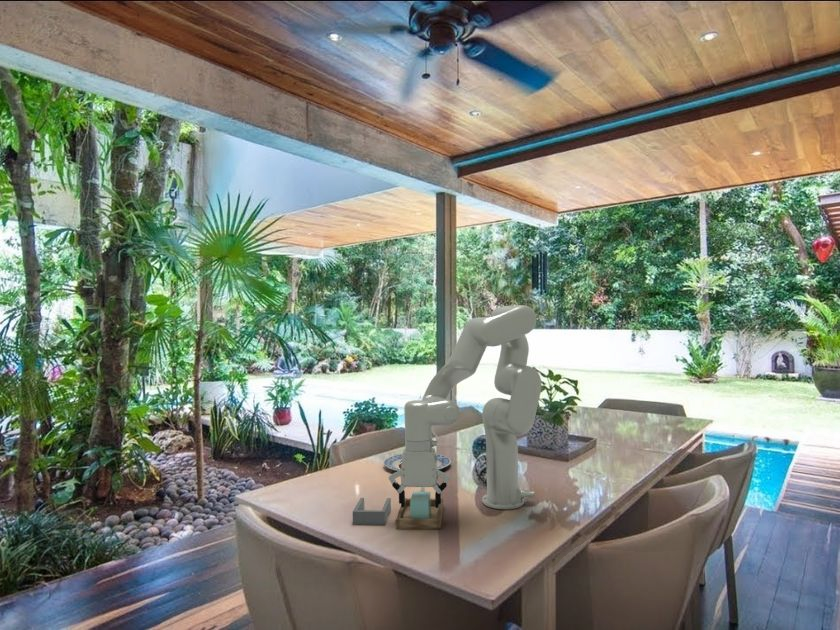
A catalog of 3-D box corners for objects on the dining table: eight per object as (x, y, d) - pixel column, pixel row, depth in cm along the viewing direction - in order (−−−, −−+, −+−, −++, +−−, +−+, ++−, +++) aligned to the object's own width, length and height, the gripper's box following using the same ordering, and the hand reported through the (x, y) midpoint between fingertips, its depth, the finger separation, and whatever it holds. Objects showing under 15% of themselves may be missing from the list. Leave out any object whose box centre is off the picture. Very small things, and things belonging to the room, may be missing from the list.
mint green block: (431, 507, 152) (431, 487, 152) (428, 523, 140) (428, 501, 140) (415, 507, 152) (414, 487, 152) (410, 523, 140) (410, 501, 140)
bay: (390, 509, 152) (390, 498, 152) (384, 524, 141) (384, 511, 141) (361, 509, 153) (360, 497, 153) (352, 524, 142) (352, 511, 142)
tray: (443, 506, 153) (443, 498, 153) (440, 529, 137) (440, 520, 137) (403, 506, 155) (403, 498, 155) (396, 528, 138) (395, 519, 138)
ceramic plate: (462, 471, 189) (462, 463, 189) (396, 481, 180) (396, 472, 180) (434, 455, 213) (434, 447, 213) (375, 462, 204) (375, 455, 204)
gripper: (449, 441, 147) (451, 501, 147) (390, 442, 148) (391, 501, 148) (448, 448, 139) (450, 511, 139) (386, 448, 141) (387, 510, 141)
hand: (420, 506), depth 144 cm, fingers open, 9 cm apart
